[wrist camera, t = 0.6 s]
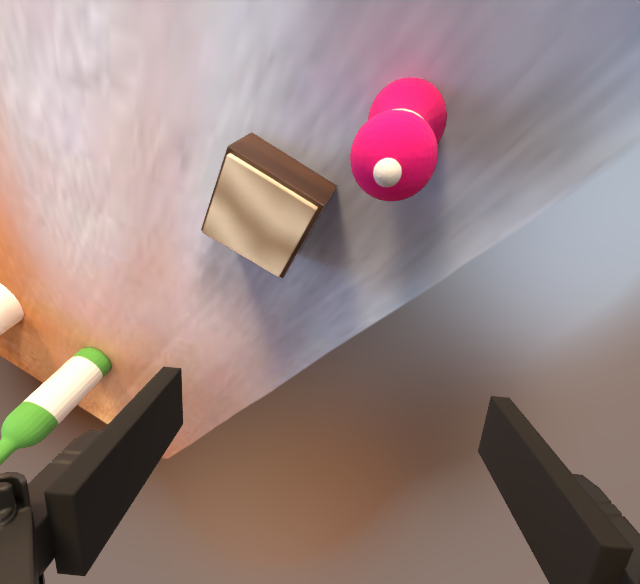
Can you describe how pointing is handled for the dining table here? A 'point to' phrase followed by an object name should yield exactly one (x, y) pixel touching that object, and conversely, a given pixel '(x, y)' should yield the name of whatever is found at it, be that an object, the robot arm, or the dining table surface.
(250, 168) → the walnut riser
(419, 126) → the pepper mill
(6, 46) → the dining table surface
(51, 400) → the wine bottle
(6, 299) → the canister
